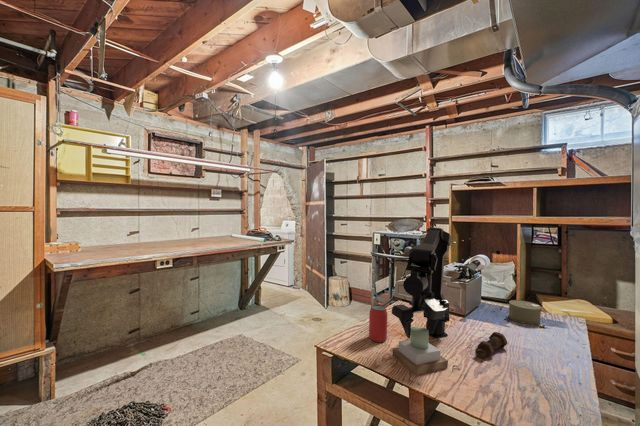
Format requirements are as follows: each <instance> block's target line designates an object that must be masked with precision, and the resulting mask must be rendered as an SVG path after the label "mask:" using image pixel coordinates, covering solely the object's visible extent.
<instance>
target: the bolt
mask: <svg viewBox="0 0 640 426" xmlns="http://www.w3.org/2000/svg"><path fill="white" fill-rule="evenodd" d="M507 345H508V340H507V338H506V336H505V335H504V334H503V333H500V332H497V331H493V332H492V334H490V336H488V340H487V341H486V340H482V341H480V342H479V344H478V345H477V347H476V348H475V349H474V351H475V352H474V353H475V355H476V356H478V357H479V358H485V357H487V358H488V357H490V356H492V355H493V353H494V352H495V350H496V349H498V348H499V349H500V350H503V349H504V348H505V347H506V346H507Z"/></svg>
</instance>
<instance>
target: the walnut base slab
mask: <svg viewBox="0 0 640 426" xmlns="http://www.w3.org/2000/svg"><path fill="white" fill-rule="evenodd" d="M398 350H399V346H398V347H394V348H392V356H393V357H394V358H395V359H397V360H398V361H399V362H400V363H401V364H402V365H403V366H405V367H406V368H407V369H408V370H409V371H411V372H412V373H413V374H414V375H416V376H419V375H424V374H426V373H427V374H428V373H430V372H431V373H432V372H435V371H440V370H445V369H447V368H448V367H449V365H448V363H449V360H447V359H446V358H445V357H443V356H442V355H440V360H437V361H432V362H428V363H423V364H418V365H416V364H415V363H413V362H412V361H411V360H410V359H408V358H407V357H406V356H405V355H403V354H402V353H401V352H400V351H398Z"/></svg>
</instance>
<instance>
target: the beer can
mask: <svg viewBox="0 0 640 426" xmlns="http://www.w3.org/2000/svg"><path fill="white" fill-rule="evenodd" d="M368 321H369V324H368V338H369V339H370V340H371V341H372V342H376V343H384V342H386V340H387V339H388V311H387V307H386V306H384V305H382V304H372V305H371V307H370V310H369V319H368Z"/></svg>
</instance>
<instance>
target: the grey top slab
mask: <svg viewBox="0 0 640 426" xmlns="http://www.w3.org/2000/svg"><path fill="white" fill-rule="evenodd" d="M398 347H399V350H398V351H400V352H401V353H402V354H403V355H405V356H406V357H407V358H408V359H410V360H411V361H412V362H413V363H415V364H416V365H418V364H423V363H428V362H432V361H437V360H440V356H441V349H439V348H437V347H436V346H434V345H432V344H431V343H429V347H428V349H424V350H422V349H416V348H414V347H412V346H411V339H406V340H401V341H400V340H399V341H398Z"/></svg>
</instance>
